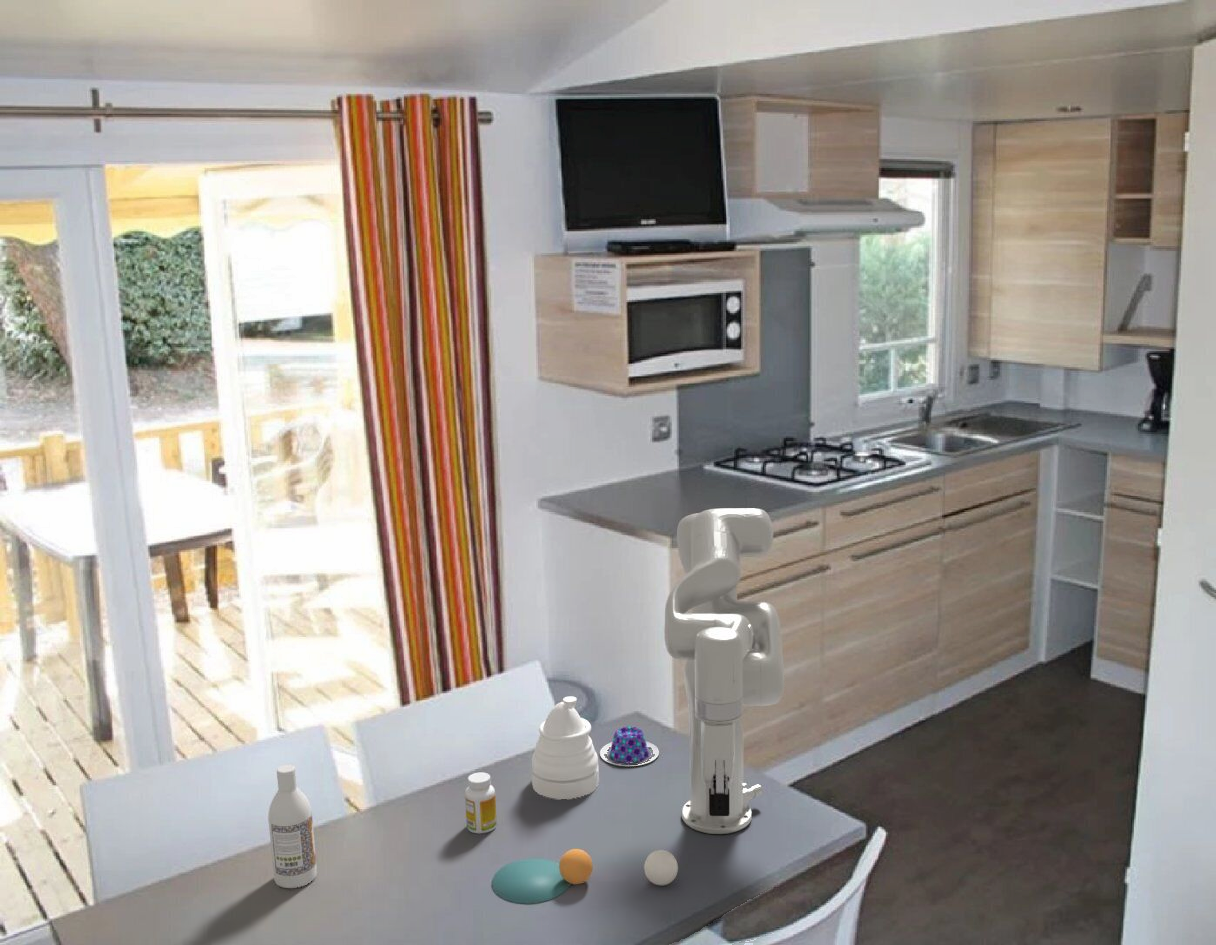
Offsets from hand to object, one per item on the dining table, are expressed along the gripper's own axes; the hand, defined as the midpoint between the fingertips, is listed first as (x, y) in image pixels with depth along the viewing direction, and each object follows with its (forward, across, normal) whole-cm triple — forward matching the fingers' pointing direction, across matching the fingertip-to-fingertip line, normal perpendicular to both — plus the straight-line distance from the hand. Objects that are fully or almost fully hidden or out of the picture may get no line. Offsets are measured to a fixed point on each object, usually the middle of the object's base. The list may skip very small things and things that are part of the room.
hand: (719, 813), depth 190 cm
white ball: (+10, -1, -10) cm, 14 cm away
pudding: (+12, -47, -17) cm, 52 cm away
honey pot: (+12, -35, -29) cm, 47 cm away
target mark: (+13, -1, -31) cm, 33 cm away
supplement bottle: (+13, -18, -42) cm, 48 cm away
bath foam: (+13, -1, -71) cm, 72 cm away
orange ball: (+10, -1, -24) cm, 26 cm away
